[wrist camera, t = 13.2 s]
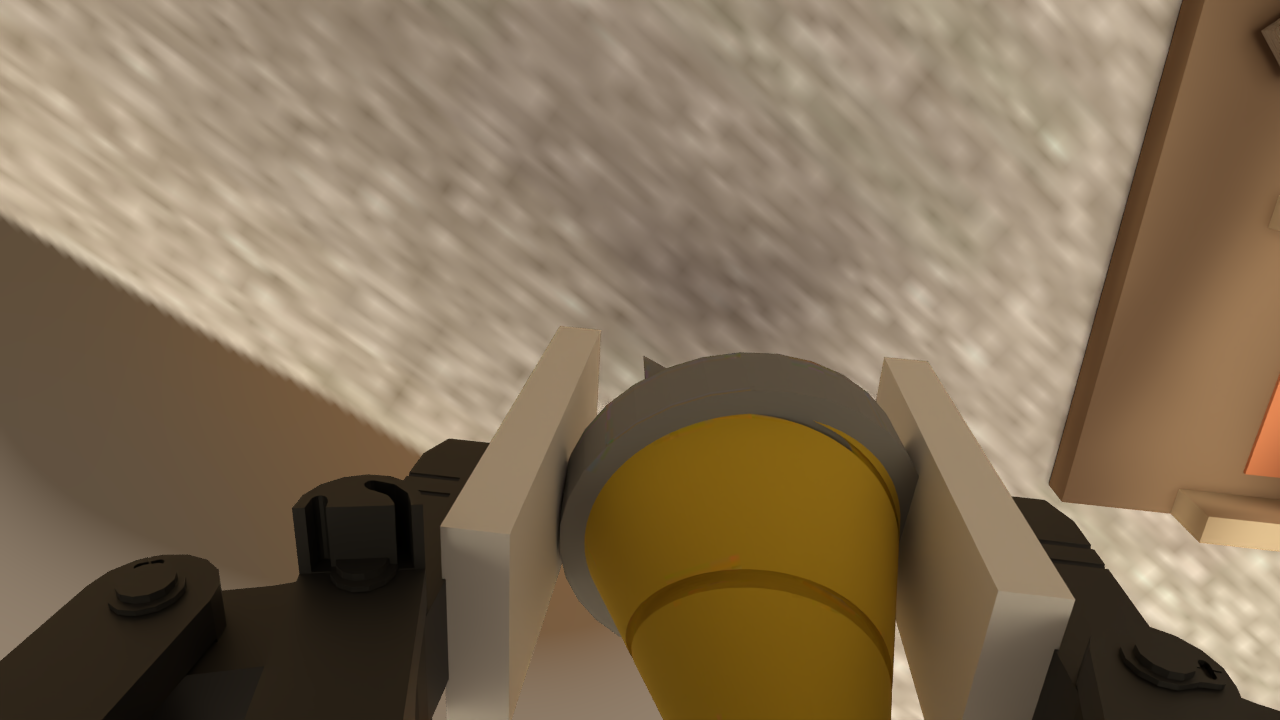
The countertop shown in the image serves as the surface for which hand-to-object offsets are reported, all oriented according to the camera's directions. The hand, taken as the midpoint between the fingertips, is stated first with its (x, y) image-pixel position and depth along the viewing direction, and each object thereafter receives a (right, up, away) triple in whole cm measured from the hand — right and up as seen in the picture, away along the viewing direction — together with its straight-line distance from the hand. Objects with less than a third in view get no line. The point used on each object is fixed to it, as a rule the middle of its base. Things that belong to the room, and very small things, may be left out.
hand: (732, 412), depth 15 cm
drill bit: (0, 0, 0) cm, 1 cm away
